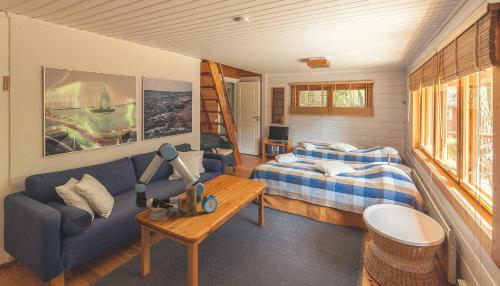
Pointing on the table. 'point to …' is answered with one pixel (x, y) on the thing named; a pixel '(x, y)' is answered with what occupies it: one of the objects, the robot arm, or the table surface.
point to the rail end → (175, 201)
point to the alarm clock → (209, 203)
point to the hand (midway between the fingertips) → (179, 203)
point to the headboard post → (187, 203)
